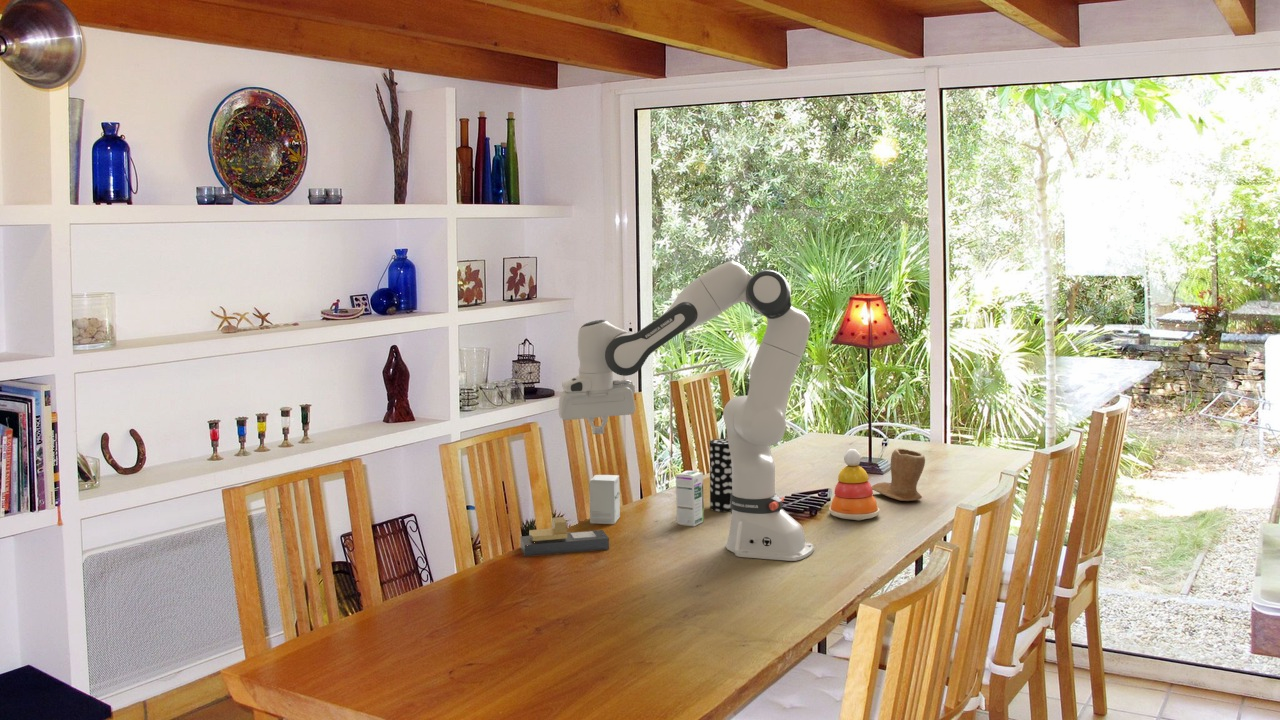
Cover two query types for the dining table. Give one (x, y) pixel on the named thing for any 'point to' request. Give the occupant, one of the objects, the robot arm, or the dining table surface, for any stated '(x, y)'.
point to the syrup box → (689, 498)
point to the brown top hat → (903, 476)
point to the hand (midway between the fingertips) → (598, 433)
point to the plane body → (566, 543)
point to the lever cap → (551, 531)
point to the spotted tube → (720, 475)
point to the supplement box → (604, 499)
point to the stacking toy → (853, 491)
